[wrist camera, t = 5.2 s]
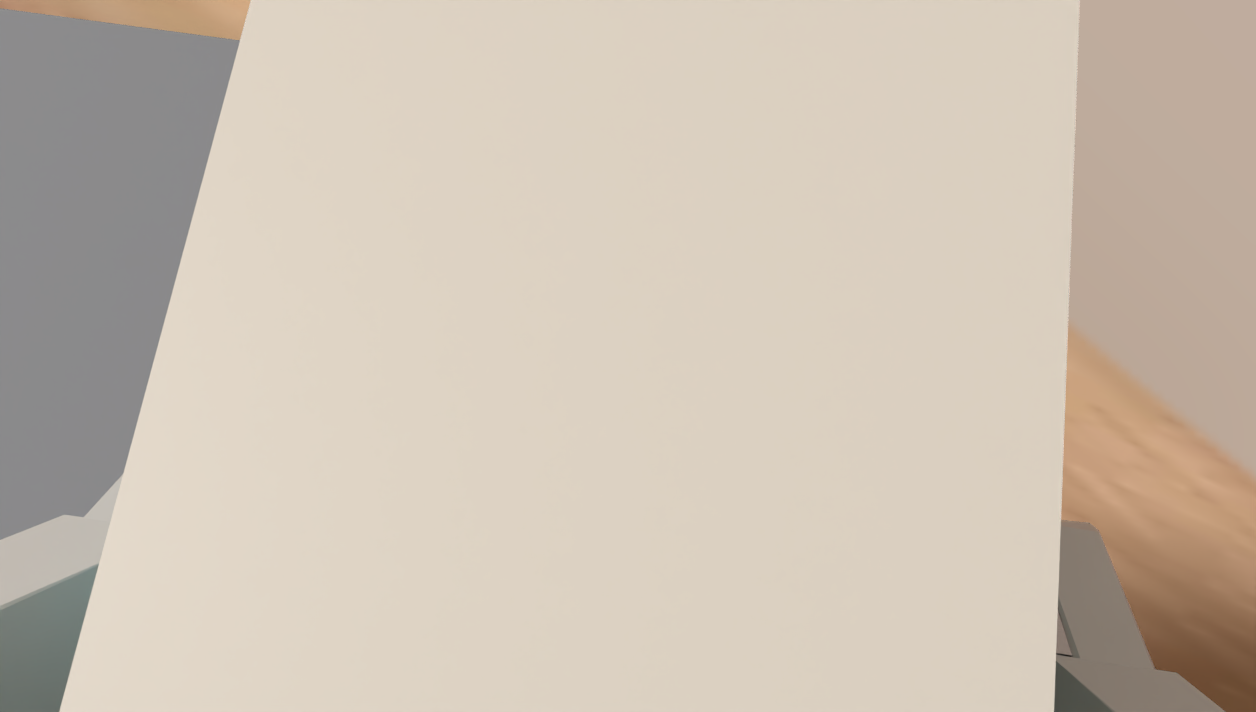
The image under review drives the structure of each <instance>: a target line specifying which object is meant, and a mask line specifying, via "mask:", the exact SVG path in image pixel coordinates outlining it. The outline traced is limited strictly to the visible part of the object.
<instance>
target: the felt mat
mask: <svg viewBox="0 0 1256 712" xmlns="http://www.w3.org/2000/svg"><path fill="white" fill-rule="evenodd" d="M239 43H240V41H239V40H232V39H225V38H217V37H210V36H202V35H195V34H187V33H180V32H172V31H165V30H157V29H150V28H142V27H135V26H127V25H120V24H112V23H105V22H98V21H90V20H83V19H75V18H68V17H60V16H53V15H45V14H38V13H30V12H23V11H15V10H8V9H0V540H1V539H4V538H6V537H9V536H12V535H14V534H17V533H19V532H22V531H24V530H27V529H29V528H32V527H34V526H37V525H39V524H42V523H44V522H47V521H50V520H52V519H55V518H57V517H60V516H62V515H70V516H78V517H84V516H85V515H86V514H87V513H88V512H89V511H90V510H91V509H92V507H93V506H94V505H95V504H96V503H97V502H98V501H99V500H100V499H101V498H102V496H103V495H104V494H105V493H106V492H107V491H108V490H109V489H110V488H111V487H112V485H113V484H114V483H115V482H116V481H117V480H118V479H119V478H120V477H121V476H122V475H123V473H124V469H125V466H126V462H127V458H128V455H129V451H130V447H131V443H132V440H133V436H134V432H135V429H136V425H137V421H138V417H139V414H140V410H141V406H142V403H143V399H144V395H145V391H146V388H147V384H148V380H149V377H150V373H151V369H152V365H153V362H154V358H155V354H156V351H157V347H158V343H159V340H160V336H161V332H162V328H163V325H164V321H165V317H166V314H167V310H168V306H169V302H170V299H171V295H172V291H173V288H174V284H175V280H176V276H177V273H178V269H179V265H180V262H181V258H182V254H183V250H184V247H185V243H186V239H187V236H188V232H189V228H190V224H191V221H192V217H193V213H194V210H195V206H196V202H197V199H198V195H199V191H200V187H201V184H202V180H203V176H204V173H205V169H206V165H207V161H208V158H209V154H210V150H211V147H212V143H213V139H214V135H215V132H216V128H217V124H218V121H219V117H220V113H221V109H222V106H223V102H224V98H225V95H226V91H227V87H228V83H229V80H230V76H231V72H232V69H233V65H234V61H235V57H236V54H237V50H238V46H239Z"/></svg>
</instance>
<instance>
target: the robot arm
mask: <svg viewBox="0 0 1256 712" xmlns="http://www.w3.org/2000/svg"><path fill="white" fill-rule="evenodd" d="M122 477H123V475H122V476H121V477H120V478H119V479H118V480H117V481H116V482H115V483H114V484H113V485H112V487H111V488H110V489H109V490H108V491H107V492H106V493H105V494H104V495H103V496H102V498H101V499H100V500H99V501H98V502H97V503H96V504H95V505H94V506H93V507H92V509H91V510H90V511H89V512H88V513H87V514H86V515H85V516H84V517H78V516H70V515H62V516H60V517H57V518H55V519H52V520H50V521H47V522H44V523H42V524H39V525H37V526H34V527H32V528H29V529H27V530H24V531H22V532H19V533H17V534H14V535H12V536H9V537H6V538H4V539H1V540H0V712H59V711H60V707H61V703H62V699H63V696H64V692H65V688H66V685H67V681H68V677H69V673H70V670H71V666H72V662H73V659H74V655H75V651H76V648H77V644H78V640H79V636H80V633H81V629H82V625H83V622H84V618H85V614H86V610H87V607H88V603H89V599H90V596H91V592H92V588H93V584H94V581H95V577H96V573H97V570H98V566H99V562H100V558H101V555H102V551H103V547H104V544H105V540H106V536H107V532H108V529H109V525H110V521H111V518H112V514H113V510H114V507H115V503H116V499H117V495H118V492H119V488H120V484H121V481H122ZM1054 712H1225V711H1224V710H1223V709H1222V708H1220V707H1219V706H1218V705H1217V704H1215V703H1214V702H1213V701H1212V700H1210V699H1209V698H1208V697H1207V696H1205V695H1204V694H1203V693H1202V692H1200V691H1199V690H1198V689H1197V688H1195V687H1194V686H1193V685H1192V684H1190V683H1189V682H1188V681H1187V680H1185V679H1184V678H1183V677H1182V676H1180V675H1179V674H1178V673H1176V672H1169V671H1163V670H1156V669H1155V667H1154V664H1153V662H1152V659H1151V657H1150V654H1149V652H1148V649H1147V647H1146V645H1145V642H1144V640H1143V637H1142V635H1141V632H1140V630H1139V627H1138V625H1137V622H1136V620H1135V618H1134V615H1133V613H1132V610H1131V608H1130V605H1129V603H1128V600H1127V598H1126V596H1125V593H1124V591H1123V588H1122V586H1121V583H1120V581H1119V578H1118V576H1117V574H1116V571H1115V569H1114V566H1113V564H1112V561H1111V559H1110V556H1109V554H1108V552H1107V549H1106V547H1105V544H1104V542H1103V539H1102V537H1101V534H1100V532H1099V530H1098V529H1096V528H1095V527H1094V526H1093V525H1091V524H1090V523H1086V522H1076V521H1066V520H1061V532H1060V560H1059V587H1058V615H1057V643H1056V670H1055V698H1054Z"/></svg>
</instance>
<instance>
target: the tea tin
mask: <svg viewBox="0 0 1256 712" xmlns="http://www.w3.org/2000/svg"><path fill="white" fill-rule="evenodd" d="M1079 6H1080V0H251V2H250V6H249V9H248V13H247V17H246V20H245V24H244V28H243V32H242V35H241V39H240V43H239V46H238V50H237V54H236V57H235V61H234V65H233V69H232V72H231V76H230V80H229V83H228V87H227V91H226V95H225V98H224V102H223V106H222V109H221V113H220V117H219V121H218V124H217V128H216V132H215V135H214V139H213V143H212V147H211V150H210V154H209V158H208V161H207V165H206V169H205V173H204V176H203V180H202V184H201V187H200V191H199V195H198V199H197V202H196V206H195V210H194V213H193V217H192V221H191V224H190V228H189V232H188V236H187V239H186V243H185V247H184V250H183V254H182V258H181V262H180V265H179V269H178V273H177V276H176V280H175V284H174V288H173V291H172V295H171V299H170V302H169V306H168V310H167V314H166V317H165V321H164V325H163V328H162V332H161V336H160V340H159V343H158V347H157V351H156V354H155V358H154V362H153V365H152V369H151V373H150V377H149V380H148V384H147V388H146V391H145V395H144V399H143V403H142V406H141V410H140V414H139V417H138V421H137V425H136V429H135V432H134V436H133V440H132V443H131V447H130V451H129V455H128V458H127V462H126V466H125V469H124V473H123V477H122V481H121V484H120V488H119V492H118V495H117V499H116V503H115V507H114V510H113V514H112V518H111V521H110V525H109V529H108V532H107V536H106V540H105V544H104V547H103V551H102V555H101V558H100V562H99V566H98V570H97V573H96V577H95V581H94V584H93V588H92V592H91V596H90V599H89V603H88V607H87V610H86V614H85V618H84V622H83V625H82V629H81V633H80V636H79V640H78V644H77V648H76V651H75V655H74V659H73V662H72V666H71V670H70V673H69V677H68V681H67V685H66V688H65V692H64V696H63V699H62V703H61V707H60V711H59V712H1054V698H1055V670H1056V643H1057V615H1058V587H1059V560H1060V532H1061V505H1062V477H1063V450H1064V422H1065V395H1066V367H1067V339H1068V311H1069V284H1070V257H1071V229H1072V201H1073V173H1074V147H1075V144H1074V143H1075V117H1076V91H1077V63H1078V35H1079V9H1080V7H1079Z"/></svg>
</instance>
